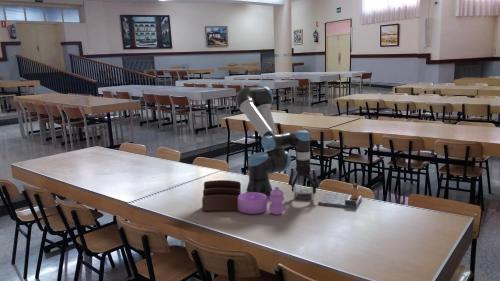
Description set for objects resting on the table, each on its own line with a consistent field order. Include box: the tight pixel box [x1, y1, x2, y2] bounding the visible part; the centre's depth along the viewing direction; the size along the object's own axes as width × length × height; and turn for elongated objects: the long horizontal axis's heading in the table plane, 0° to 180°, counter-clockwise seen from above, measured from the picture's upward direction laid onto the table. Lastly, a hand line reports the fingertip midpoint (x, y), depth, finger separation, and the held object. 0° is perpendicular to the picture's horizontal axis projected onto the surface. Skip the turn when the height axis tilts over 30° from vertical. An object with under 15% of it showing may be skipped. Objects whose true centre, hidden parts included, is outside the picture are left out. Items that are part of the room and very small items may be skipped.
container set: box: [238, 186, 285, 215], centre depth 209 cm, size 25×15×13 cm, turn 64°
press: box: [317, 193, 363, 210], centre depth 218 cm, size 20×15×4 cm
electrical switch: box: [296, 187, 312, 200], centre depth 230 cm, size 9×5×9 cm
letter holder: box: [201, 179, 242, 212], centre depth 215 cm, size 10×20×14 cm, turn 90°
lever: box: [350, 183, 360, 199], centre depth 218 cm, size 3×3×8 cm
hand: (303, 198), depth 226 cm, fingers closed on electrical switch, 10 cm apart
